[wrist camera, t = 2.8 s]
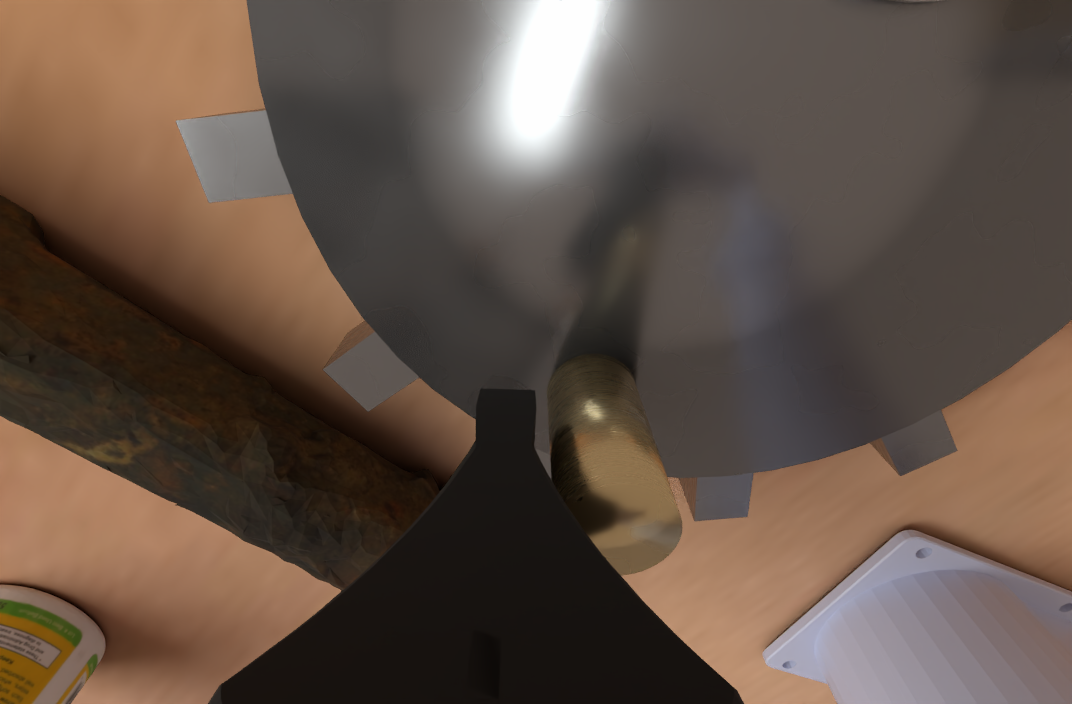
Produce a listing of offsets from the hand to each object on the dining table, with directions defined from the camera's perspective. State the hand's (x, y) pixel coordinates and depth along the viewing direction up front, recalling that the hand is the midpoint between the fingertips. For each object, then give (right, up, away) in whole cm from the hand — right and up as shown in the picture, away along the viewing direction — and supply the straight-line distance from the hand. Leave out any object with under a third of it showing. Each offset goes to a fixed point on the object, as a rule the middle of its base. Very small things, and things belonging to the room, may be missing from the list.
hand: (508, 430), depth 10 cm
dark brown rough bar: (-9, +1, +4) cm, 10 cm away
